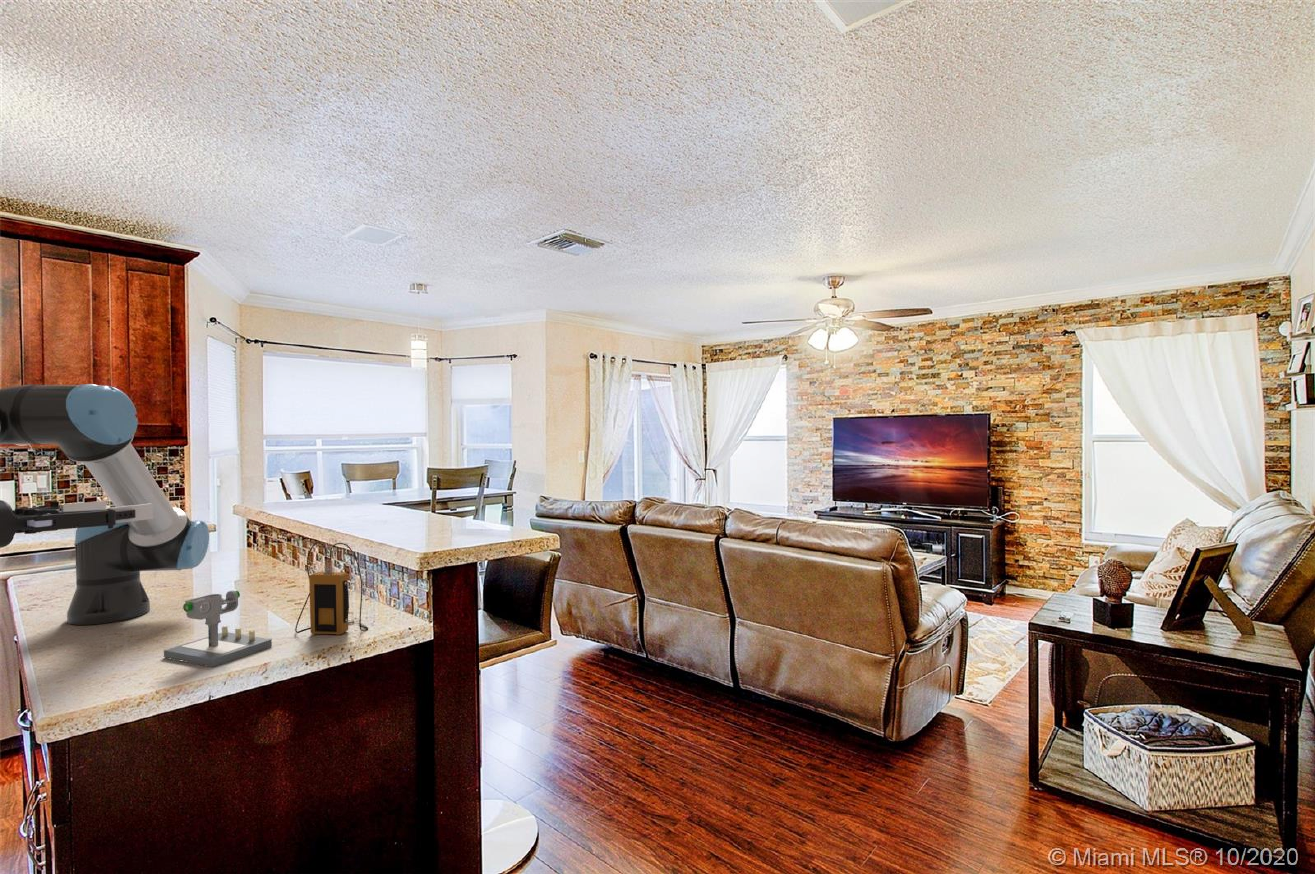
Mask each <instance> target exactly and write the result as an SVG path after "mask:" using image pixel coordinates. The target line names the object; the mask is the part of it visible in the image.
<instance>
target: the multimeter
mask: <svg viewBox="0 0 1315 874" xmlns="http://www.w3.org/2000/svg"><path fill="white" fill-rule="evenodd" d="M317 544H319V545H321V546H322V547H323V549H324V553H325V557H324V559H325V560H324V562H325V563H324V564H325V566H324V571H317V572H315V573H314V572H313V573H312V574H310V571H309V570H310V569H309V556H310V553H311V551H312V550H313V548H314V547H315V545H317ZM337 545H344V546H346V547H347V548H348V549H349V550H350V552H351V554H352V556H353V557H354V560H355V561H356V562H355V563H356V566H357V569H358V573H359V578H360V579H359V580H360V604H359V620H352V621H349V611H350V599H349V598H350V595H349V593H350V592H349V577H348V572H345V571H342V572H340V571H339V572H337V571H335V572H333V566H332V564H333V562H332V549H333V548H334V547H335V546H337ZM327 554H328V553H327V549H326V546H325V545H324V544H323V543H322V542H320V541H316V542H314V543H313V545H312V546H311V547H310V549H309V551H308V554H307V556H306V571H307V572H306V573H307V576H308V580H309V585H308V586H309V593H308V596H307V597H306V600H305V602H304V604H303V607H302V609H301V610H300V614H299V616H298V619H297V621H296V625H295V629H294V631H295V633H301V632H303V631H306V630H307V631H308V630H310V633H311V634H312V635H336V636H341V635H342V634H344V633H346V632H348V631H349V625H350V624H355V623H357V624H358V625H359V629H360V631H361V632H365V631H368V630H369V627H368V626H367V625H365V624H364V623H362V622H361V621H363V619H361V618H362V605H363V604H362V603H363V579H362V574H361V573H362V572H361V569H360V565H359V563H358V560H357V557H356V555H355V552H354V551H353V549H352V548H351V546H349V545H348V544H346V543H344V542H343V543H342V542H337V543H334V544H333V545H331V547H330V550H329V566H328V560H327V559H328V558H327V557H328V555H327ZM308 600H309V617H310V621H309V622H310V626H309V627H307V628H304V629H301V630H299V631H297V628H298V624H299V621H300V620H301V616H302V614H303V612H304V610H305V607H306V604H307V603H308ZM362 628H365V629H362Z"/></svg>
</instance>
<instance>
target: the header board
mask: <svg viewBox="0 0 1315 874" xmlns="http://www.w3.org/2000/svg"><path fill="white" fill-rule="evenodd" d="M255 634H256V631H255V629H252V630H249V631H248V634H242V628H241V627H237V628H235V629H234V632H229V625H224V626H223V625H222V627H221V632H218V646H216V647H212V646H209V636H206V637H203V638H201V639H196V640H193V641H190V642H187V643H183V644H180V645H177V646H174V647H170V648H167V649H164V650H163V658H164V657H165V658H164V659H167V658H171V659H170V660H172V659H175V660H174V661H177V660H183V661H187V662H186V663H188V662H191V663H190V664H193V663H195V664H194V665H198V664H200V666H203V665H207V666H206V667H209V666H210V668H214V667H218V666H220V665H223V664H226V663H229V662H231V661H234V660H237V659H241V658H243V657H247V656H249V655H251V654H252V655H253V654H255V653H257V651H258V652H260V651H264V650H266V649H270V648H271V647H272V643H273V642H272V638H266V637H260V636H259V637H258V636H256V635H255ZM254 652H255V653H254ZM242 656H243V657H242ZM240 657H241V658H240Z"/></svg>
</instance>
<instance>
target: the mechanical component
mask: <svg viewBox="0 0 1315 874" xmlns="http://www.w3.org/2000/svg"><path fill="white" fill-rule="evenodd" d="M240 595H241V593H240V591H239V590H230V591H226V594H225V599H224V598H223V597H222V596H223V595H222V594H221V593H212V594H211V593H210V594H206V595H204V596H199V597H196V598H191V599H188V600H184V602H185V603H183V605H182V607H183V608H182V609H183V611H184V612H186V614H185V615H186V617H187V618H188V619H191V620H199V621H202V620H205V622H204V624H205V625H206V626H207V628H208V630H207V631H208V632H207V633H208V634H207V635H208V636H207V637H209V646H212V647H216V646H218V634H219V624H220V623H221V622H222V621H221V615H224V614H227V613H231V612H234V611H236V610H237V608H238V606H239V598H240ZM223 605H225V607H223Z"/></svg>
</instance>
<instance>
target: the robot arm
mask: <svg viewBox="0 0 1315 874" xmlns="http://www.w3.org/2000/svg"><path fill="white" fill-rule="evenodd" d="M136 414H138V413H137V410H136V407H135V405H134V402H132V400H131V398H130V397H129V396H128V395H127V394H126V393H125V392H123V391H122V390H120V389H118V388H116V387H113V386H110V385H98V384H94V383H86V384H85V383H84V384H78V385H77V384H25V385H23V384H21V385H13V386H7V387H3V388H0V445H56V446H58V447H59V448H60V450H62V452H63V454H64V455H65V456H66V457H67V459H69V460H71V461H73V462H76V463H82V464H83V465H84V466H85V467H86V469H87V470H88V471H89V473H90V474H91V476H92V477H93V478H94V480H95V481H96V482H97V484H98V485H99V486H100V487H101V489H102V490H103V492H104V493H105V494H106V495H107V497H108V499H109V500H110V501H111V503H112V504H113V505H114V507H113V506H112V507H108V508H107V501H106V500H99V501H98V500H97V501H88V502H78V503H68V504H60V502H59V501H50V502H49V505H46V504H43V505H40V506H34V507H20V508H19V507H18V508H17V507H16V508H15V509H13V508H12V507H11V505H10V504H9V503H8V502H7V501H4V500H2V499H0V549H1V548H5V547H7V546H9V545H10V544H11V543H12V541H13V540H14V539H15V538H14V537H15V535H16V534H25V535H33V534H37V533H42V532H55V531H58V530H68V529H69V530H71V529H76V530H75V538H74V544H73V546H74V549H75V555H74V556H75V557H74V558H75V580H76V582H75V583H76V588H75V590H74V593H73V596H72V599H71V601H70V603H69V607H68V609H67V612H66V623H67V624H70V625H75V626H88V625H89V626H90V625H100V624H106V623H114V622H119V621H124V620H128V619H132V618H136V617H139V616H142V615H145V614H146V613H148V612H149V611H150V610H151V603H150V602H151V601H150V599H149V597H148V594H147V592H146V590H145V588H144V586H143V583H142V580H141V572H154V571H156V572H158V571H178V572H179V571H182V570H191V569H194V568H197V567H198V566H199V565H200V564H201V563H202V562H203V560H204V559H205V557H206V554H207V552H208V550H209V549H208V548H209V544H210V531H209V526H208V525H207V523H206V522H205V521H202V520H198V519H196V520H190V518H189V516H187V515H188V514H187V513H185V511H184V510H182V509H181V508H178V507H175V506H172V504H171V503H170V501H169V500H168V499H167V497H166V495H165V494H164V492H163V491H162V489H161V488H160V487H159V485H158V483H157V481H156V480H155V479H154V477H153V475H152V474H151V472H150V470H149V469H148V467H147V466H146V465H145V463H144V461H143V460H142V458H141V457H140V455H139V453H138V452H137V450H136V449H135V447H134V445H133V444H132V442H133V439H134V436H135V433H136V432H137V429H138V424H139V423H138V422H139V420H138V417H136Z"/></svg>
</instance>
